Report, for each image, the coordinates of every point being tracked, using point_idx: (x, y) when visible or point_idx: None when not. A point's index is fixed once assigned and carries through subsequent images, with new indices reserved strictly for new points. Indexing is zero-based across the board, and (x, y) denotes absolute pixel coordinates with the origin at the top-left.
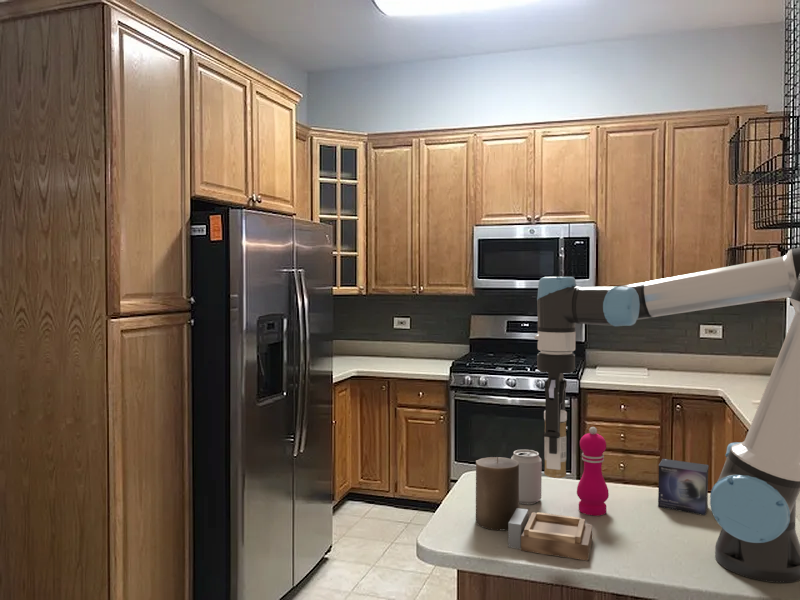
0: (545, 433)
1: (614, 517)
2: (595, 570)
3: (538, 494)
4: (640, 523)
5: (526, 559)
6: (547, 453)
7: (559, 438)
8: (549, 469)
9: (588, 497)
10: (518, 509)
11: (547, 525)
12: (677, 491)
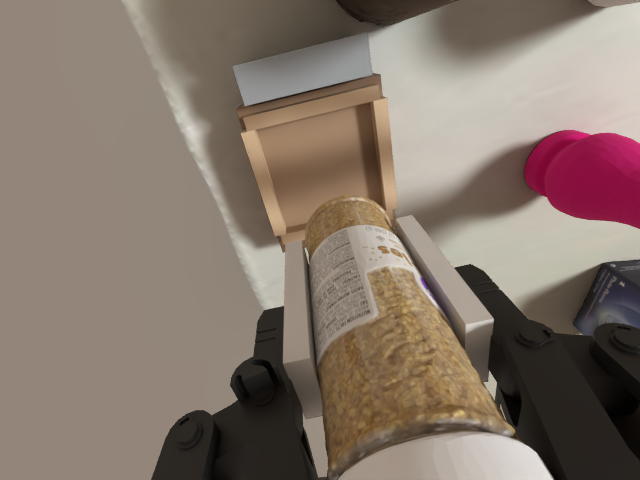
0: (167, 438)
1: (525, 212)
2: (256, 257)
3: (610, 2)
4: (505, 258)
5: (210, 134)
6: (286, 289)
7: (304, 411)
8: (308, 242)
9: (551, 178)
10: (357, 44)
11: (342, 142)
12: (619, 316)
